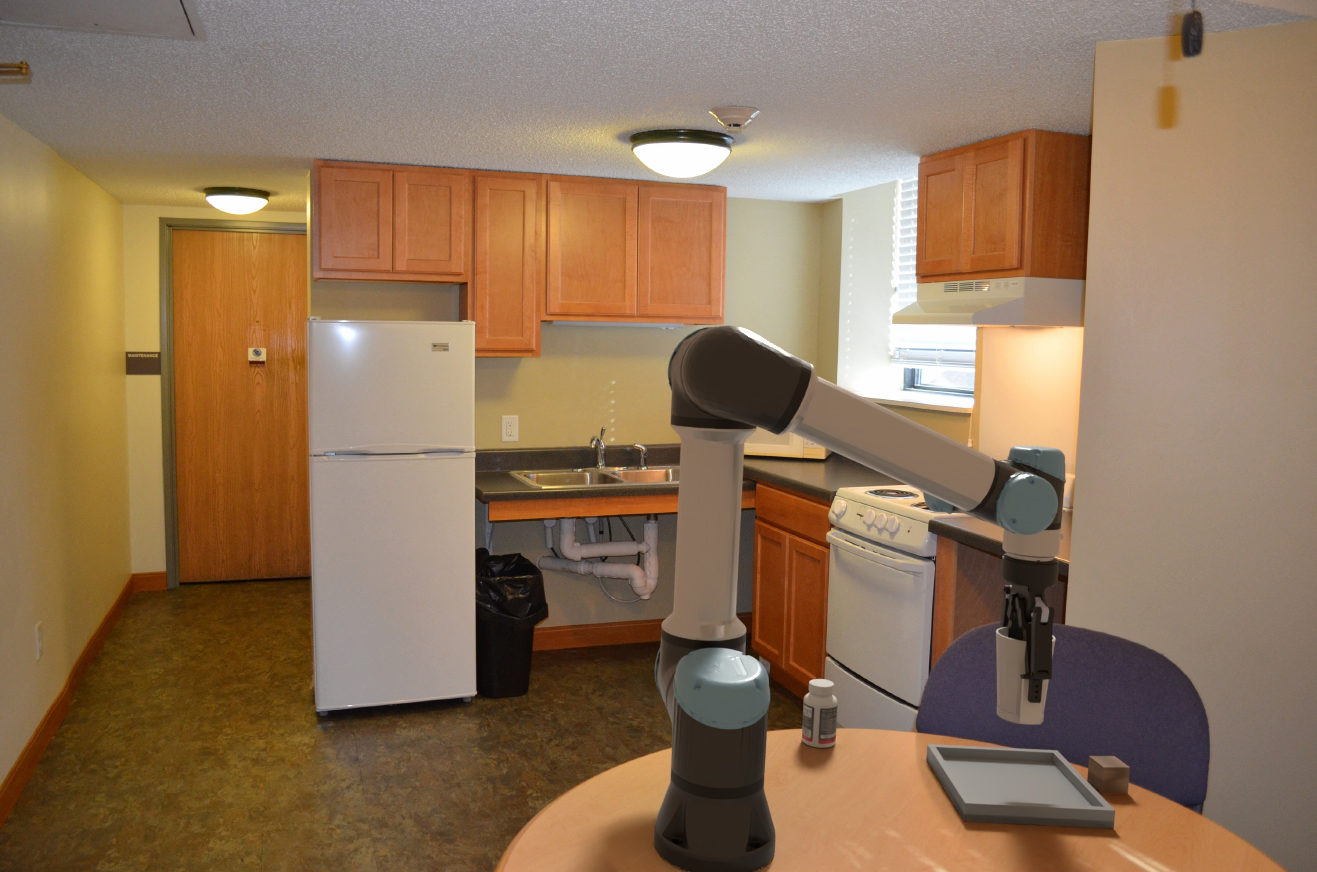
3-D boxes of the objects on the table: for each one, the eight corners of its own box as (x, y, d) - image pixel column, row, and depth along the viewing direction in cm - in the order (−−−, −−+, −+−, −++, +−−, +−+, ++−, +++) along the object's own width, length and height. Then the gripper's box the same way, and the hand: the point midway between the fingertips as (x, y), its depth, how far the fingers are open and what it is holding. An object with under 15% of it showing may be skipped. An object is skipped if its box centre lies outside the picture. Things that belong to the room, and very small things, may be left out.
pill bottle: (836, 738, 157) (840, 679, 157) (834, 750, 152) (837, 690, 152) (803, 733, 159) (806, 675, 158) (799, 745, 154) (802, 685, 153)
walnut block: (1101, 793, 141) (1103, 767, 141) (1087, 781, 145) (1089, 755, 145) (1127, 793, 141) (1130, 767, 141) (1112, 781, 145) (1114, 755, 145)
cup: (1054, 729, 135) (1060, 644, 134) (994, 723, 136) (1000, 639, 135) (1043, 709, 142) (1049, 629, 141) (987, 703, 144) (992, 624, 143)
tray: (964, 820, 130) (965, 802, 130) (926, 759, 150) (927, 743, 150) (1113, 828, 130) (1115, 810, 130) (1056, 765, 150) (1057, 750, 150)
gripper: (1087, 572, 127) (1074, 741, 129) (1031, 542, 147) (1021, 689, 149) (1029, 569, 127) (1018, 738, 129) (981, 540, 148) (972, 687, 149)
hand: (1019, 712), depth 139 cm, fingers closed on cup, 7 cm apart
